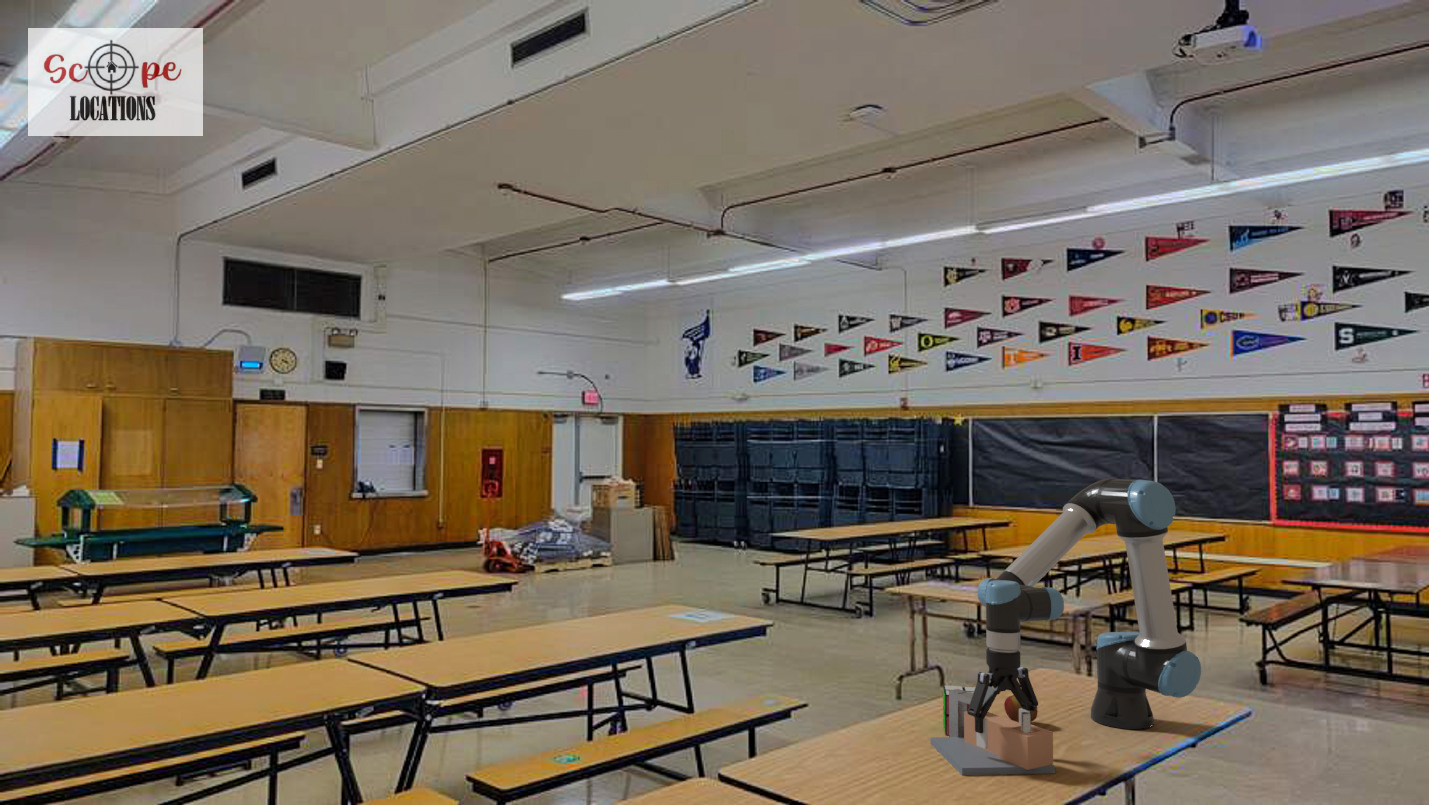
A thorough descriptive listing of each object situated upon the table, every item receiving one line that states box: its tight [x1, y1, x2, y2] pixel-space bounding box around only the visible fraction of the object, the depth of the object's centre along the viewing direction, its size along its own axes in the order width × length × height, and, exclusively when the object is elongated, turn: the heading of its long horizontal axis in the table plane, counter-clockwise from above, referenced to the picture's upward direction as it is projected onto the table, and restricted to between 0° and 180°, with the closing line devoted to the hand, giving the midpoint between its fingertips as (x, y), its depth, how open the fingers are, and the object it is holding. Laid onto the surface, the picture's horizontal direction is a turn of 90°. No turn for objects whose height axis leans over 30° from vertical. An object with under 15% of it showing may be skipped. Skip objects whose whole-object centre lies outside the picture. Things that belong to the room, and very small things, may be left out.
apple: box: [1003, 695, 1038, 723], centre depth 234 cm, size 8×8×8 cm
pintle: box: [1021, 712, 1032, 734], centre depth 201 cm, size 2×2×12 cm
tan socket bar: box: [964, 710, 1054, 770], centre depth 206 cm, size 20×8×7 cm, turn 29°
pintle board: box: [930, 736, 1056, 776], centre depth 207 cm, size 21×21×2 cm
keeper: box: [948, 689, 973, 737], centre depth 217 cm, size 4×9×12 cm, turn 29°
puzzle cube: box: [942, 684, 976, 737], centre depth 227 cm, size 10×10×10 cm
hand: (1003, 742), depth 207 cm, fingers open, 13 cm apart
